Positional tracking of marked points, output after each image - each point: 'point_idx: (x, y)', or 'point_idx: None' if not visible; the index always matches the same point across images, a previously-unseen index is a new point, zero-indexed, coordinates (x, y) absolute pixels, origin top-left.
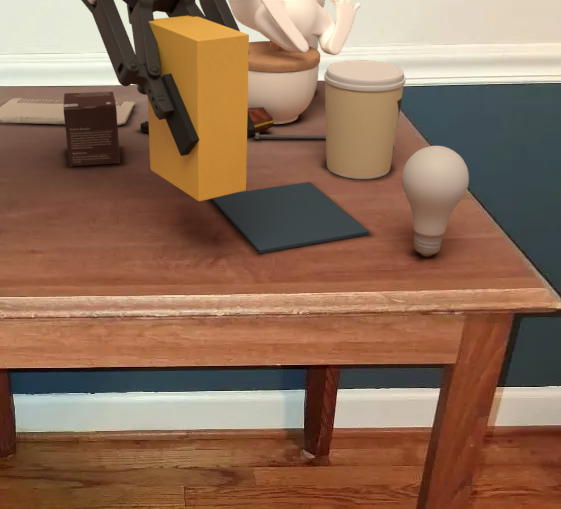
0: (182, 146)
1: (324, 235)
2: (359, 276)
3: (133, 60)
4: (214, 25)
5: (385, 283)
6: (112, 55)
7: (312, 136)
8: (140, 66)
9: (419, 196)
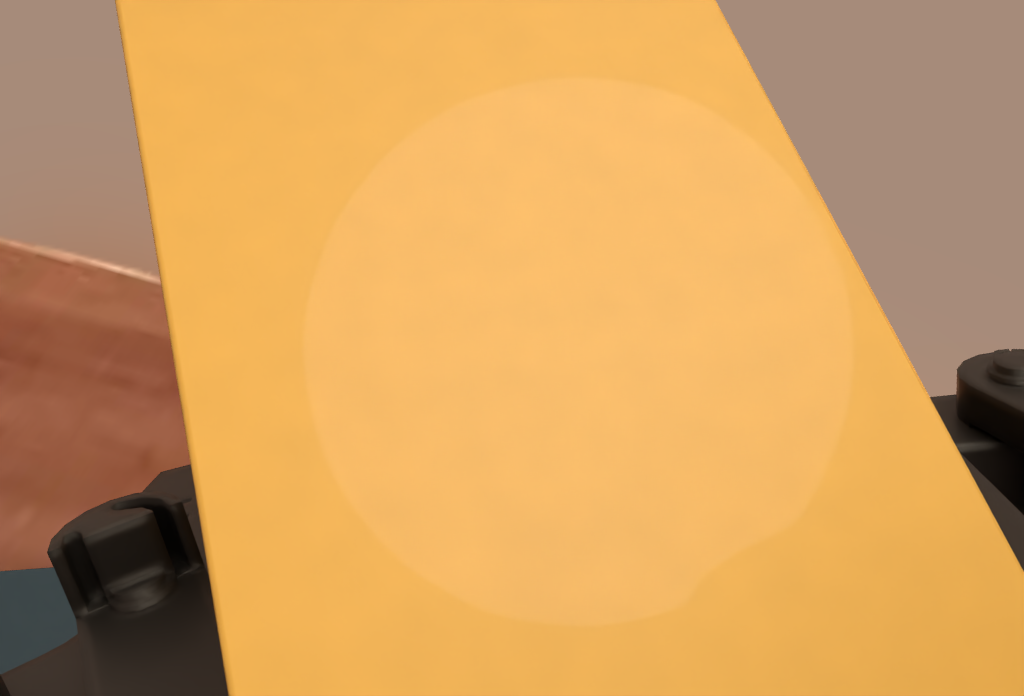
0: None
1: (24, 594)
2: (79, 343)
3: None
4: (274, 336)
5: (37, 291)
6: None
7: None
8: (951, 437)
9: None
